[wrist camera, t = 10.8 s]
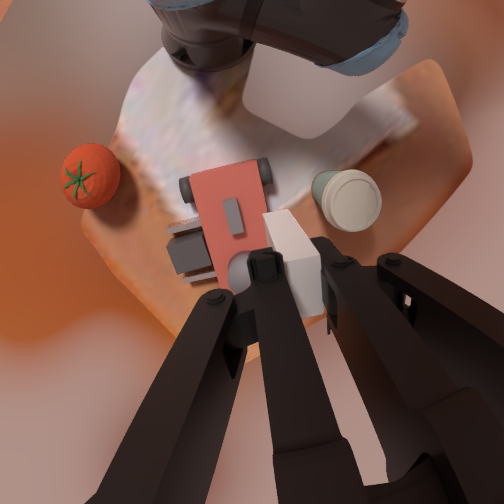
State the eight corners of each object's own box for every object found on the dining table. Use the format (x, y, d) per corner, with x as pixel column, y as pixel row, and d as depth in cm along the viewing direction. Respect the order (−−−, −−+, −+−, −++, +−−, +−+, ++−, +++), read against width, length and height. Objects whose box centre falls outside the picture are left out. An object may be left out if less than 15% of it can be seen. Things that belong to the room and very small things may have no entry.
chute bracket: (169, 224, 45) (165, 228, 43) (203, 215, 45) (201, 219, 43) (186, 276, 49) (184, 283, 47) (218, 269, 49) (218, 276, 47)
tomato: (101, 130, 38) (71, 130, 29) (140, 169, 41) (118, 177, 32) (68, 175, 40) (36, 186, 31) (105, 213, 44) (78, 231, 34)
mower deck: (182, 176, 43) (171, 184, 35) (265, 156, 42) (272, 160, 35) (220, 304, 52) (218, 330, 44) (290, 288, 52) (299, 312, 44)
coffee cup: (333, 221, 47) (362, 247, 36) (293, 195, 45) (313, 215, 34) (359, 181, 45) (395, 195, 34) (320, 152, 43) (350, 157, 31)
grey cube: (171, 238, 47) (166, 246, 43) (204, 228, 46) (201, 236, 43) (181, 264, 48) (177, 274, 45) (213, 255, 48) (211, 265, 45)
